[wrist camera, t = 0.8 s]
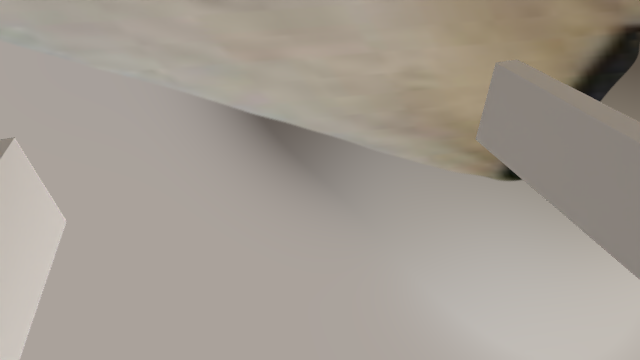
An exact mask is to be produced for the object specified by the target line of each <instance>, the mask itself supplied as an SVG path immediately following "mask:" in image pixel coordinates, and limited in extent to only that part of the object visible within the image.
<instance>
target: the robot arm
mask: <svg viewBox="0 0 640 360" xmlns="http://www.w3.org/2000/svg"><path fill="white" fill-rule="evenodd" d="M476 140H477V141H478V142H479V143H480V144H482V145H483V146H484V147H485V148H486V149H487V150H489V151H490V152H491V153H492V154H493V155H494V156H496V157H497V158H498V159H499V160H500V161H501V162H503V163H504V164H505V165H506V166H507V167H508V168H510V169H511V170H512V171H513V172H514V173H515V174H517V175H518V176H519V177H520V178H521V179H523V180H524V181H525V182H526V183H527V184H529V185H530V186H531V187H532V188H533V189H534V190H535V191H537V192H538V193H539V194H540V195H541V196H543V197H544V198H545V199H546V200H547V201H549V203H551V204H552V205H553V206H554V207H555V208H557V209H558V210H559V211H560V212H561V213H562V214H564V215H565V216H566V217H567V218H568V219H569V220H571V221H572V222H573V223H574V224H575V225H576V226H578V227H579V228H580V229H581V230H582V231H583V232H585V233H586V234H587V235H588V236H589V237H590V238H592V239H593V240H594V241H595V242H596V243H597V244H599V245H600V246H601V247H602V248H603V249H604V250H606V251H607V252H608V253H609V254H611V256H613V257H614V258H615V259H616V260H617V261H618V262H620V263H621V264H622V265H623V266H624V267H626V268H627V269H628V270H629V271H630V272H631V273H633V274H634V275H635V276H636V277H637V278H639V279H640V122H638V121H636V120H634V119H632V118H630V117H628V116H626V115H624V114H623V113H621V112H619V111H617V110H615V109H613V108H611V107H609V106H607V105H605V104H603V103H601V102H599V101H597V100H595V99H593V98H591V97H589V96H587V95H585V94H584V93H582V92H580V91H578V90H576V89H574V88H572V87H570V86H568V85H566V84H564V83H562V82H560V81H558V80H556V79H554V78H552V77H550V76H548V75H546V74H544V73H543V72H541V71H539V70H537V69H535V68H533V67H531V66H529V65H527V64H525V63H523V62H521V61H519V60H511V61H504V62H498V63H496V64H495V68H494V72H493V75H492V79H491V83H490V87H489V91H488V94H487V98H486V102H485V106H484V110H483V113H482V117H481V121H480V125H479V129H478V132H477V136H476ZM65 224H66V220H65V218H64V216H63V215H62V213H61V211H60V210H59V208H58V207H57V205H56V204H55V202H54V200H53V199H52V197H51V195H50V194H49V192H48V190H47V189H46V187H45V186H44V184H43V182H42V181H41V179H40V177H39V176H38V174H37V173H36V171H35V169H34V168H33V166H32V165H31V163H30V161H29V160H28V158H27V157H26V155H25V153H24V152H23V150H22V149H21V147H20V145H19V144H18V142H17V140H16V139H15V137H14V138H7V139H1V140H0V360H20V357H21V354H22V351H23V348H24V345H25V342H26V339H27V336H28V333H29V330H30V328H31V325H32V322H33V319H34V316H35V313H36V310H37V307H38V304H39V301H40V298H41V295H42V292H43V289H44V286H45V283H46V280H47V277H48V274H49V271H50V269H51V266H52V263H53V260H54V257H55V254H56V250H57V248H58V245H59V242H60V239H61V236H62V233H63V230H64V227H65Z"/></svg>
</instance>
